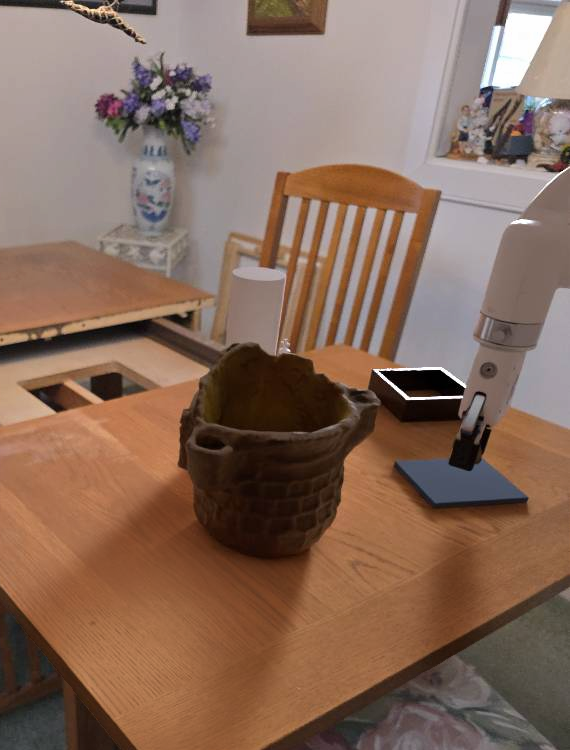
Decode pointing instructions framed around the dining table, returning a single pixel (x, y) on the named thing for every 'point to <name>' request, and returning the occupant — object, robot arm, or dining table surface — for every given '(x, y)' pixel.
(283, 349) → the chess piece
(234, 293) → the cylindrical container
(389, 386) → the basin
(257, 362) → the ceramic vessel
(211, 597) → the dining table surface
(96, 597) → the dining table surface
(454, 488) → the mat
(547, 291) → the robot arm
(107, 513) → the dining table surface
